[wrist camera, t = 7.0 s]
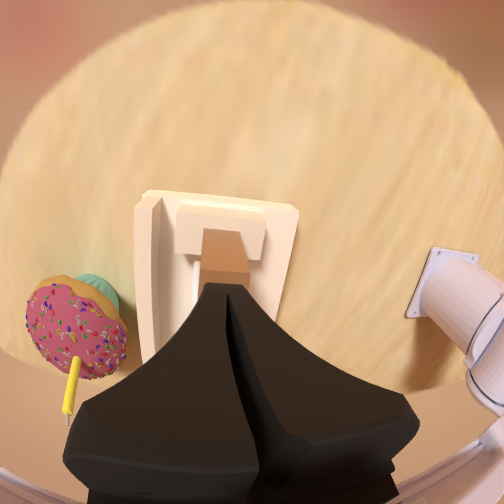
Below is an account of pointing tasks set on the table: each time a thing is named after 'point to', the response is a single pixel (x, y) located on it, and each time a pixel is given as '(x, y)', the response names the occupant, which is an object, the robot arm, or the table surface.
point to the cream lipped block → (189, 250)
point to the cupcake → (77, 329)
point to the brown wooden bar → (220, 262)
